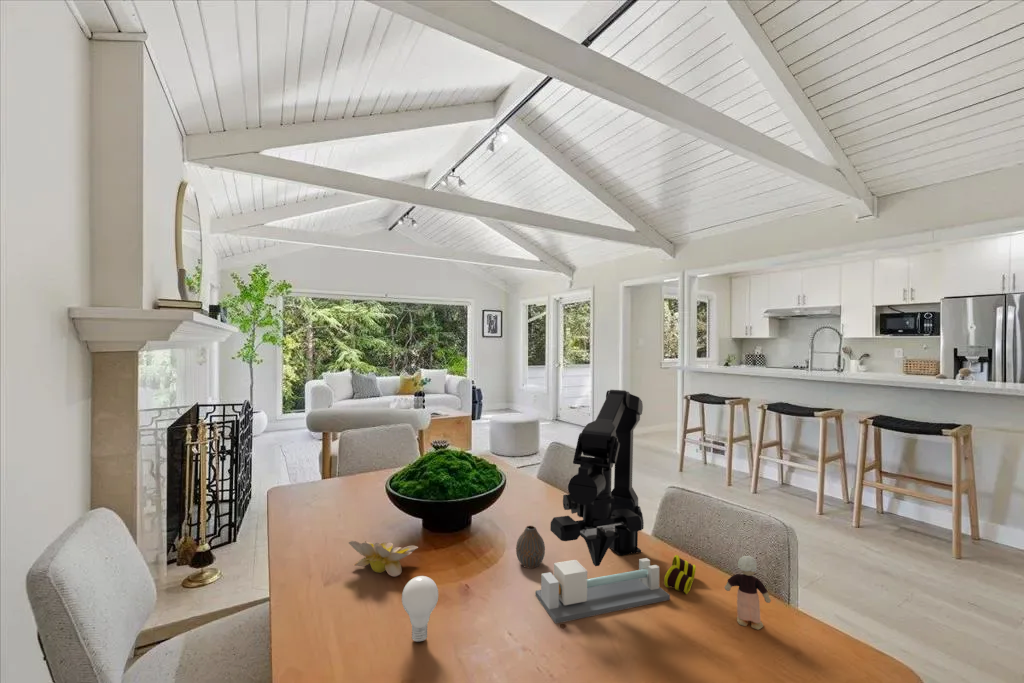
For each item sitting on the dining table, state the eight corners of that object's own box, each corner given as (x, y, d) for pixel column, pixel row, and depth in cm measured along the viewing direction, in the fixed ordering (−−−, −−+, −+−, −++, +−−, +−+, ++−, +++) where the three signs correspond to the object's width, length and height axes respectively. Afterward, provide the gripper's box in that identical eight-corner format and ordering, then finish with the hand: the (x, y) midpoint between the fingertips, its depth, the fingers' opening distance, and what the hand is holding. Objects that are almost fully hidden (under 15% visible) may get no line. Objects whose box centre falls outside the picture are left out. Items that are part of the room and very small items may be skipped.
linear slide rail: (640, 576, 104) (641, 549, 104) (669, 599, 94) (670, 570, 94) (535, 595, 95) (535, 566, 95) (555, 623, 86) (556, 591, 86)
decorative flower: (431, 555, 108) (423, 517, 106) (402, 589, 98) (393, 548, 96) (382, 547, 115) (373, 511, 113) (350, 578, 104) (340, 539, 103)
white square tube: (575, 588, 95) (575, 559, 95) (586, 601, 91) (587, 570, 91) (553, 592, 94) (554, 563, 94) (564, 605, 89) (564, 574, 89)
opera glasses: (686, 601, 96) (692, 579, 95) (661, 589, 98) (666, 567, 98) (694, 580, 104) (698, 560, 103) (670, 570, 106) (675, 550, 106)
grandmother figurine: (767, 621, 87) (768, 555, 87) (771, 633, 84) (772, 564, 84) (723, 612, 90) (724, 548, 90) (725, 624, 86) (726, 557, 86)
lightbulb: (403, 629, 83) (405, 569, 83) (439, 628, 84) (439, 568, 84) (398, 653, 77) (399, 588, 77) (436, 651, 77) (437, 587, 77)
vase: (542, 572, 104) (543, 534, 105) (513, 569, 106) (513, 531, 106) (546, 559, 111) (546, 523, 111) (518, 555, 113) (519, 520, 113)
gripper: (615, 475, 105) (614, 543, 105) (540, 482, 99) (539, 554, 98) (644, 490, 94) (643, 565, 94) (563, 499, 88) (561, 579, 88)
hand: (596, 565), depth 94 cm, fingers closed
